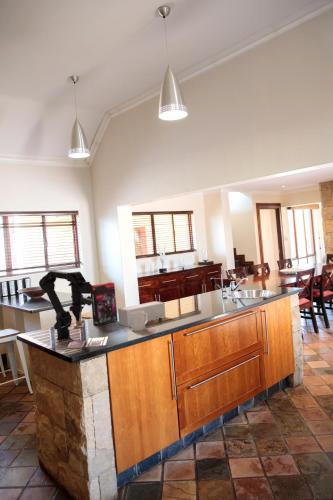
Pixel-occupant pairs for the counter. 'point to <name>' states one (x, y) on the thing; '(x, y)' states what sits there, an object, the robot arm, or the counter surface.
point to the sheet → (96, 341)
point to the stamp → (79, 323)
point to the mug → (138, 320)
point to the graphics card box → (103, 303)
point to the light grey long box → (152, 308)
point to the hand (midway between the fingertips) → (78, 320)
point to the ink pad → (76, 344)
